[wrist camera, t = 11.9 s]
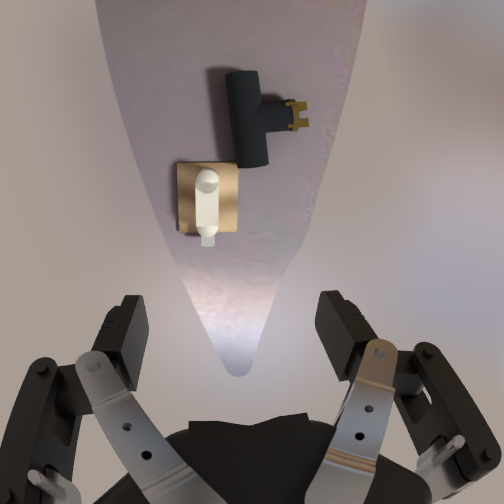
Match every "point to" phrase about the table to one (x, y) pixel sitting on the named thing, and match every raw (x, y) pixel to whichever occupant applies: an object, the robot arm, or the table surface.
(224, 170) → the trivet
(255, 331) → the table surface
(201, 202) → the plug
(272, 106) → the pipe connector
